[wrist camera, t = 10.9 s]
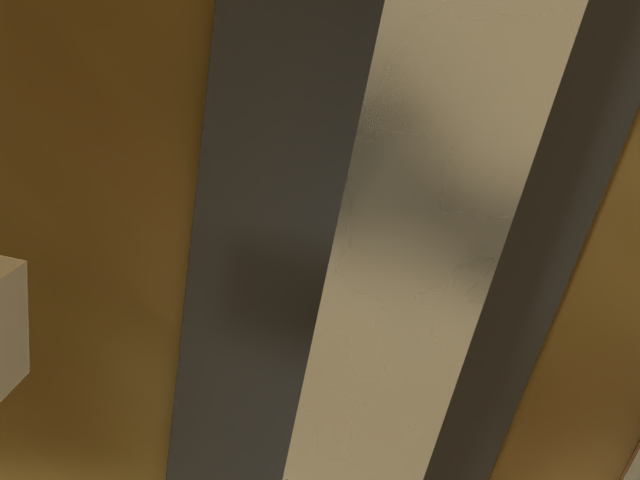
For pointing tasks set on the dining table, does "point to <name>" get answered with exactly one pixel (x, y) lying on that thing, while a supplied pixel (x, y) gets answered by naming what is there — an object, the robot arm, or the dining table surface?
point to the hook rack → (630, 461)
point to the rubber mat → (321, 221)
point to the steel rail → (423, 225)
